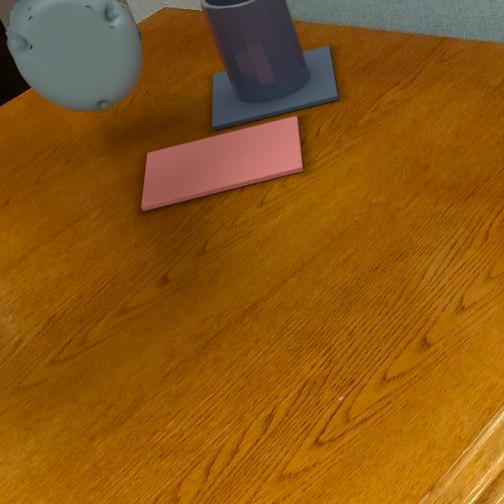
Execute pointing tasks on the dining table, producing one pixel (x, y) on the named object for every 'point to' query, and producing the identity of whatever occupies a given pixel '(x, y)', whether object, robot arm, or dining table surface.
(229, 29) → the blue cup
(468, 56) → the dining table surface
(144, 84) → the dining table surface
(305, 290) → the dining table surface
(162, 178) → the rose mat
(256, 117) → the blue mat
